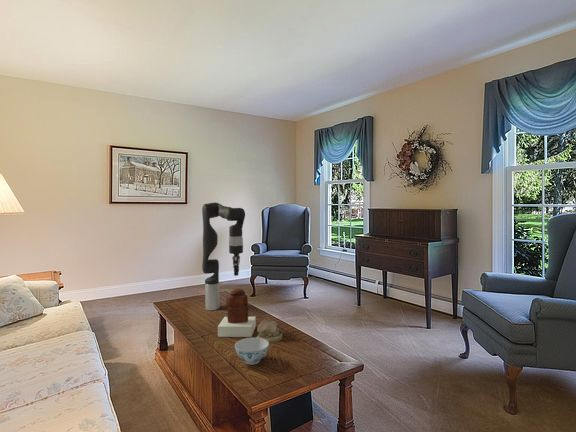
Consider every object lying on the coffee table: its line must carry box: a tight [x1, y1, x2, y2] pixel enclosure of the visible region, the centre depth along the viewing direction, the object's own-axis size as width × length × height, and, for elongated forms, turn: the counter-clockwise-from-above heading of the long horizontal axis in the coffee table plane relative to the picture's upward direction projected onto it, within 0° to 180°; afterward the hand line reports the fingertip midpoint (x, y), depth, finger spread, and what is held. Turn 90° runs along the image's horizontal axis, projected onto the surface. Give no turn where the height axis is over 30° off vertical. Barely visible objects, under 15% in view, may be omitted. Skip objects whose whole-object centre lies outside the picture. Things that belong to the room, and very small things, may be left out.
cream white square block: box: [217, 316, 257, 338], centre depth 186 cm, size 16×18×6 cm
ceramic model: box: [255, 318, 283, 343], centre depth 176 cm, size 14×11×10 cm
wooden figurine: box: [225, 288, 249, 323], centre depth 185 cm, size 12×6×18 cm, turn 97°
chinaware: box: [234, 337, 270, 366], centre depth 149 cm, size 15×15×8 cm
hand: (236, 273), depth 184 cm, fingers open, 8 cm apart
